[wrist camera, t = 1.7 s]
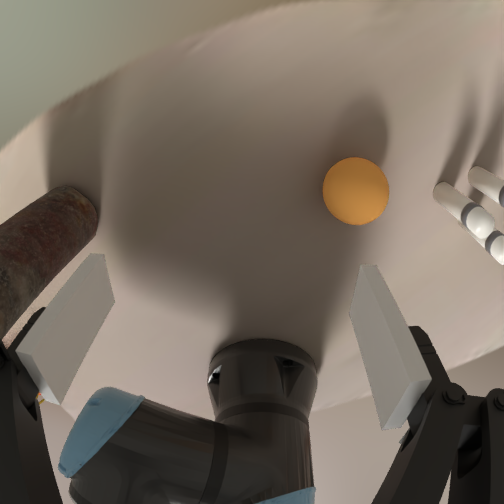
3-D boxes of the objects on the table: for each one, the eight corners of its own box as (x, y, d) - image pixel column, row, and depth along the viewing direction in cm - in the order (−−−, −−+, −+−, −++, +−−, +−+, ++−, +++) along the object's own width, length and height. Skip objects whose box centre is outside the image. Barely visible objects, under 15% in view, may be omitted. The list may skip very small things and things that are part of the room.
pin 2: (474, 224, 31) (514, 261, 24) (457, 229, 32) (496, 268, 24) (474, 205, 30) (516, 239, 23) (457, 210, 31) (498, 245, 23)
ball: (381, 201, 31) (402, 226, 26) (325, 216, 32) (337, 244, 27) (370, 145, 28) (393, 159, 23) (310, 159, 29) (321, 177, 24)
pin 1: (484, 184, 29) (529, 214, 21) (468, 188, 29) (512, 220, 22) (483, 163, 28) (531, 190, 20) (466, 167, 28) (513, 195, 21)
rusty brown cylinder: (39, 214, 33) (-73, 316, 15) (62, 168, 30) (-74, 261, 12) (83, 254, 35) (-11, 377, 17) (112, 211, 32) (-1, 338, 15)
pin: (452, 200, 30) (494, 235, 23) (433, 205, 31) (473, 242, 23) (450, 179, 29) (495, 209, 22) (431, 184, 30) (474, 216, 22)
